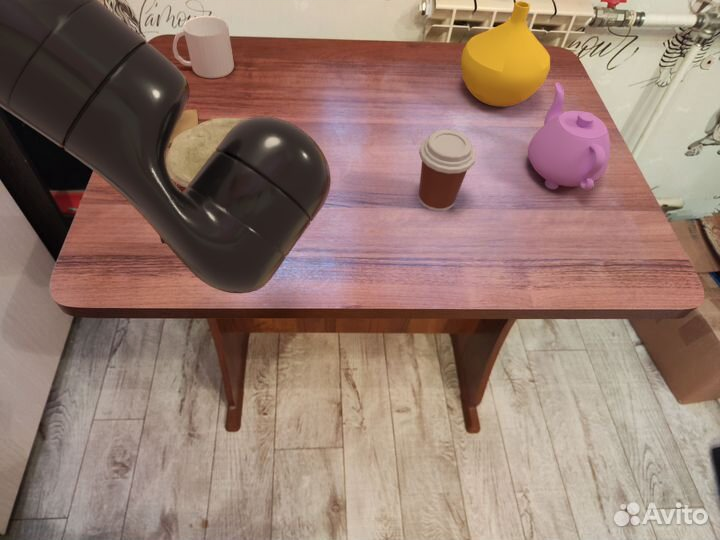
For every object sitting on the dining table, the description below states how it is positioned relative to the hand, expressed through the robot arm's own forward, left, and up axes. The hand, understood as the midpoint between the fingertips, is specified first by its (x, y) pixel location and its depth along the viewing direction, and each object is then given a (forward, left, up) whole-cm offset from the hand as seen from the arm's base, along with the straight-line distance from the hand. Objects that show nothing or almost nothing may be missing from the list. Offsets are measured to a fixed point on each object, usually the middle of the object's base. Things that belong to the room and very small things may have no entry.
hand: (220, 217), depth 60 cm
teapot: (+62, +15, -15) cm, 66 cm away
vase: (+61, +41, -15) cm, 75 cm away
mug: (0, +62, -15) cm, 64 cm away
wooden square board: (-8, +40, -15) cm, 43 cm away
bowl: (+1, +22, -15) cm, 27 cm away
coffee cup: (+36, +12, -15) cm, 41 cm away
